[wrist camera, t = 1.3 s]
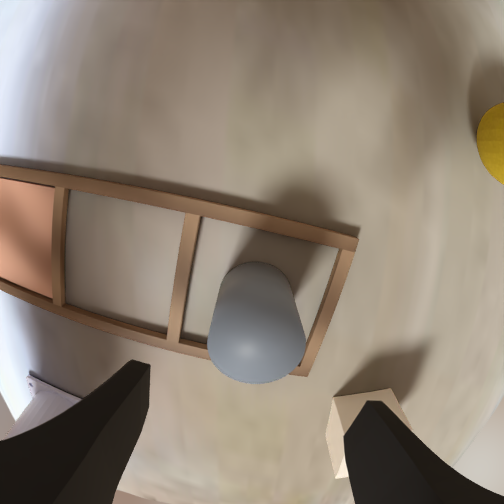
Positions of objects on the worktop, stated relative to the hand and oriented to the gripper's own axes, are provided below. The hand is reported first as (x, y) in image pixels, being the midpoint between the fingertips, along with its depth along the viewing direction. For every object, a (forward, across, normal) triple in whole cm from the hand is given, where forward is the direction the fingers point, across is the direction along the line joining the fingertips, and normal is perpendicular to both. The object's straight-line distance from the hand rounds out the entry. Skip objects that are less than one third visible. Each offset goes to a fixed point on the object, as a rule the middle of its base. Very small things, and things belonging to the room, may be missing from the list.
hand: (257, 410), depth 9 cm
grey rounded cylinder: (+10, 0, 0) cm, 10 cm away
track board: (+10, +9, 0) cm, 13 cm away
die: (+10, -11, +10) cm, 18 cm away
